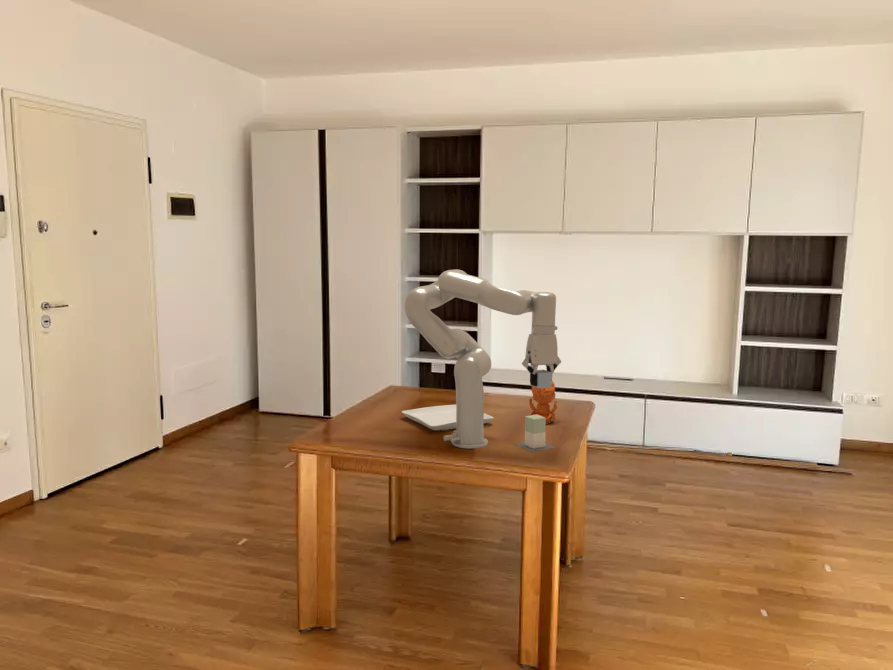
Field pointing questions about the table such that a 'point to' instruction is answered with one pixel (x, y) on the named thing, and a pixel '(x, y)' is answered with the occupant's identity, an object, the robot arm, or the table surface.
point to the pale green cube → (535, 424)
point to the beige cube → (535, 439)
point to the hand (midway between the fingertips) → (540, 384)
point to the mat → (534, 448)
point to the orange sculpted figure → (543, 402)
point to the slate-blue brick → (543, 379)
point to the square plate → (437, 417)
